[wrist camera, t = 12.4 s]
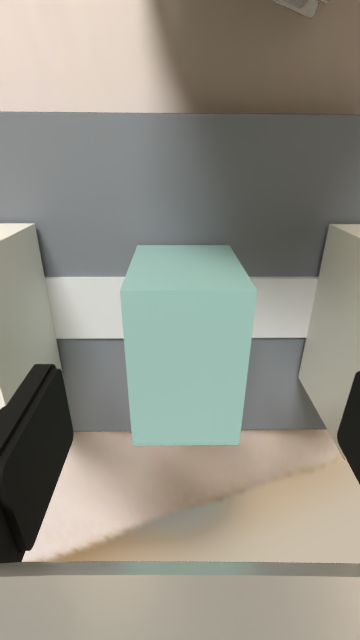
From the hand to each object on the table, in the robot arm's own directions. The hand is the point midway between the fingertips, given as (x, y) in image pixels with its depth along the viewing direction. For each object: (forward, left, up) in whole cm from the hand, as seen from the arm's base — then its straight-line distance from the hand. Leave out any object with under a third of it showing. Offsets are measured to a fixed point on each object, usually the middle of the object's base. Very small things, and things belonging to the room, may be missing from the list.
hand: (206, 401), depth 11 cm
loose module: (+1, 0, -8) cm, 8 cm away
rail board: (+1, 0, -10) cm, 10 cm away
